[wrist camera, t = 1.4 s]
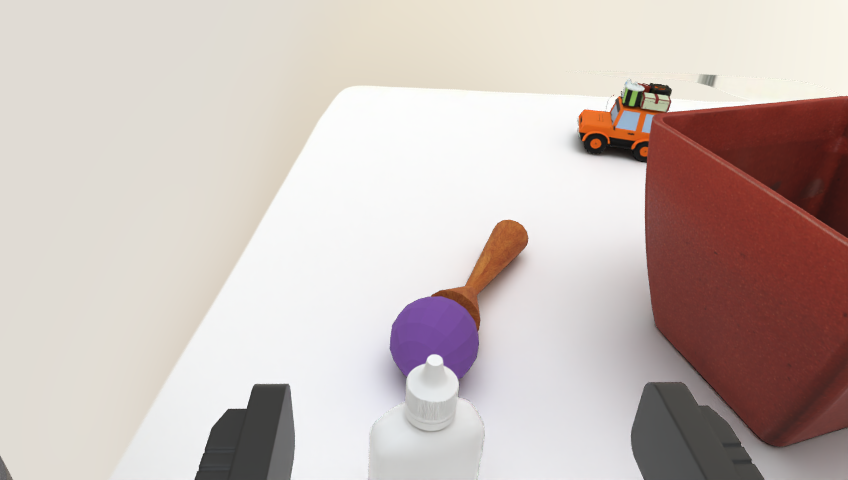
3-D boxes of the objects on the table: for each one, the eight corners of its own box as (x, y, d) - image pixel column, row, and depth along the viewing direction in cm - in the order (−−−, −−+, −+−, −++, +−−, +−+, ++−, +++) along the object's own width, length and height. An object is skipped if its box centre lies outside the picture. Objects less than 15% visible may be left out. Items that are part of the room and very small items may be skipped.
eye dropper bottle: (379, 471, 35) (383, 318, 28) (473, 488, 35) (501, 336, 28) (360, 542, 32) (360, 386, 25) (465, 563, 31) (495, 409, 24)
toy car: (674, 167, 72) (697, 96, 67) (574, 154, 73) (589, 84, 68) (664, 143, 78) (685, 76, 73) (571, 132, 79) (585, 65, 74)
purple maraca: (553, 224, 52) (471, 357, 36) (528, 276, 55) (443, 420, 39) (491, 195, 53) (385, 311, 37) (471, 247, 56) (365, 375, 40)
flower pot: (767, 513, 34) (920, 284, 25) (591, 304, 49) (645, 111, 40) (988, 437, 40) (1180, 227, 31) (770, 270, 55) (855, 94, 45)
